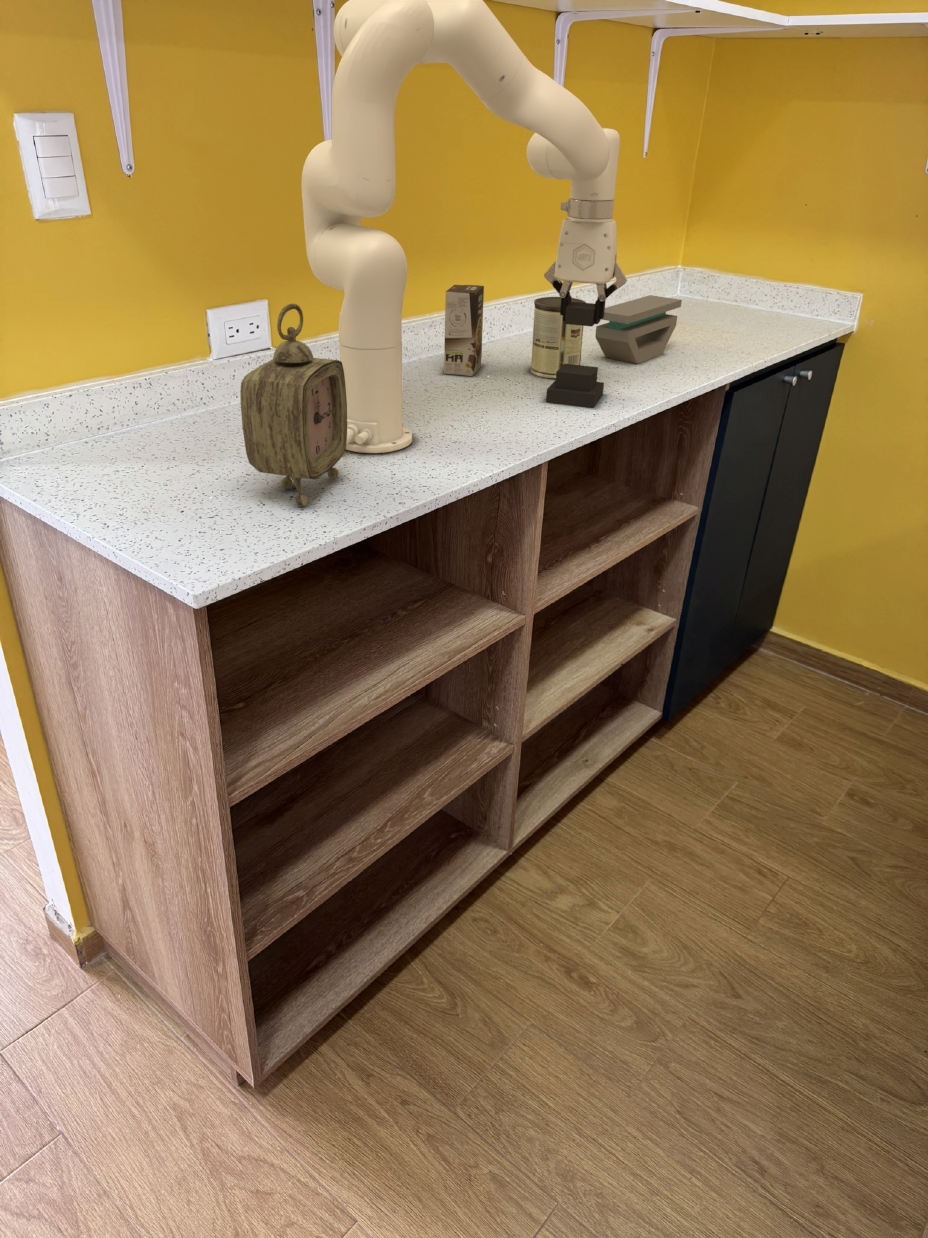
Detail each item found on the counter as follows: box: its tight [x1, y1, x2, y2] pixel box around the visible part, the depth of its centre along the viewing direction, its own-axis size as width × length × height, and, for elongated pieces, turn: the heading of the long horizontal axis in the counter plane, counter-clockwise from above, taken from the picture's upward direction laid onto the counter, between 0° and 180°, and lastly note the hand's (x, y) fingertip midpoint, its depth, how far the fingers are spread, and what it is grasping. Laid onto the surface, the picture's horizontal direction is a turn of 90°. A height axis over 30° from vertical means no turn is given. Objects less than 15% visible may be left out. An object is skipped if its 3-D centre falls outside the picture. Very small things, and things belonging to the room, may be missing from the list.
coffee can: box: [530, 296, 587, 379], centre depth 179 cm, size 10×10×14 cm
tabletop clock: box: [239, 303, 347, 507], centre depth 117 cm, size 14×9×25 cm, turn 164°
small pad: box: [565, 302, 595, 328], centre depth 158 cm, size 5×5×3 cm
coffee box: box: [443, 284, 485, 377], centre depth 178 cm, size 9×6×16 cm
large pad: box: [545, 379, 605, 409], centre depth 165 cm, size 9×9×2 cm
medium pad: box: [555, 364, 599, 392], centre depth 164 cm, size 6×6×3 cm
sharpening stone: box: [594, 294, 683, 365], centre depth 193 cm, size 25×8×11 cm, turn 143°
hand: (581, 320), depth 159 cm, fingers closed on small pad, 5 cm apart
